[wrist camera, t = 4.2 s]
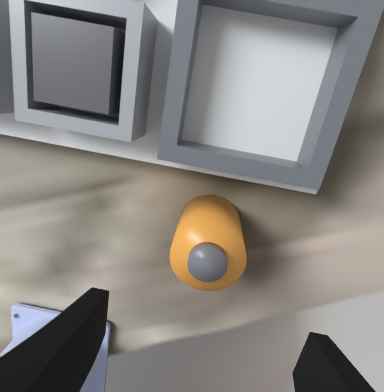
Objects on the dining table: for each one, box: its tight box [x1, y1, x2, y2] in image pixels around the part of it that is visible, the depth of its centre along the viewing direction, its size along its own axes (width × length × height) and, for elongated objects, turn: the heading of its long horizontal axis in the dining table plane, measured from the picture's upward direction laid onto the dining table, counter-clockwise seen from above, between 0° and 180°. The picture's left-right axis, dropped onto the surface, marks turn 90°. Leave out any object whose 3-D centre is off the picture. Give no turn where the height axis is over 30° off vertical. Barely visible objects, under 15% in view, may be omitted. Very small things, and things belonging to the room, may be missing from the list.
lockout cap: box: [170, 195, 247, 291], centre depth 16 cm, size 4×4×5 cm
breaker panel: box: [0, 0, 384, 194], centre depth 13 cm, size 10×22×5 cm, turn 80°
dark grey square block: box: [31, 12, 125, 115], centre depth 12 cm, size 3×3×2 cm
